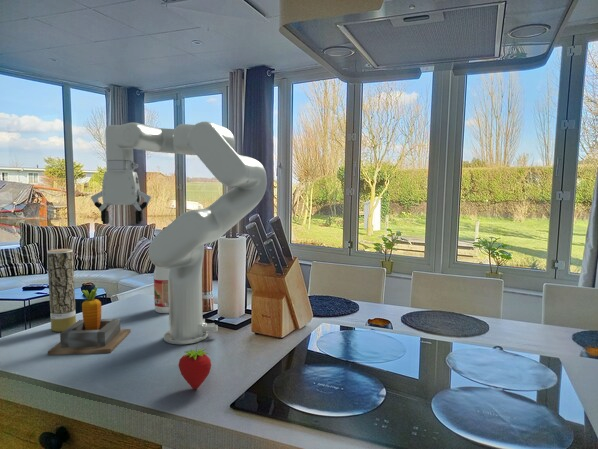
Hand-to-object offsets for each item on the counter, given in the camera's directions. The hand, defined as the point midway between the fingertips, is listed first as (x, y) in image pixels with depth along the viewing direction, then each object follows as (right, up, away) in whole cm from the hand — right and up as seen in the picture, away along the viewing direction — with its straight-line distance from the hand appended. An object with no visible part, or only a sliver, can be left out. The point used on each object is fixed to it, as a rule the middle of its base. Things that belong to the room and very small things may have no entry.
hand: (122, 223), depth 122 cm
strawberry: (+31, -36, -35) cm, 59 cm away
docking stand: (-5, -34, -8) cm, 35 cm away
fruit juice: (+6, -32, +24) cm, 40 cm away
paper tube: (-20, -33, +4) cm, 39 cm away
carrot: (-5, -33, -8) cm, 34 cm away
